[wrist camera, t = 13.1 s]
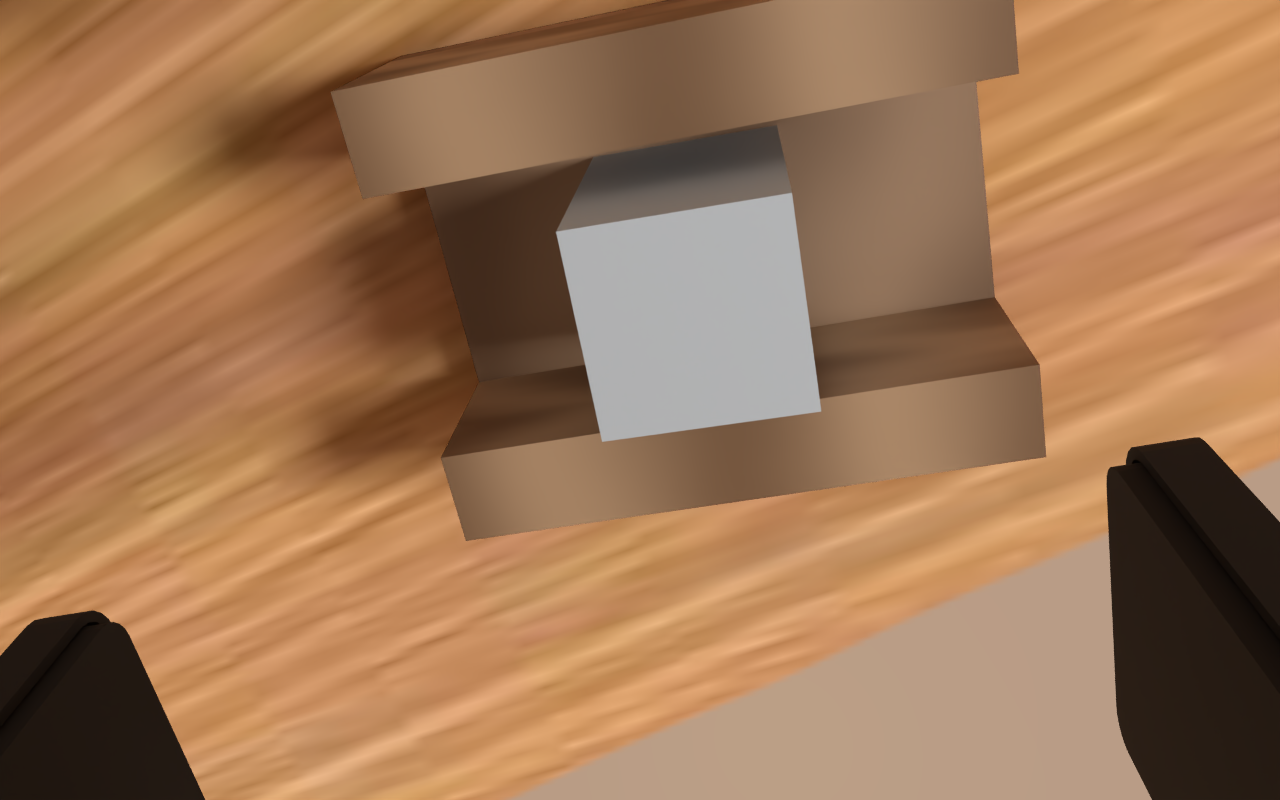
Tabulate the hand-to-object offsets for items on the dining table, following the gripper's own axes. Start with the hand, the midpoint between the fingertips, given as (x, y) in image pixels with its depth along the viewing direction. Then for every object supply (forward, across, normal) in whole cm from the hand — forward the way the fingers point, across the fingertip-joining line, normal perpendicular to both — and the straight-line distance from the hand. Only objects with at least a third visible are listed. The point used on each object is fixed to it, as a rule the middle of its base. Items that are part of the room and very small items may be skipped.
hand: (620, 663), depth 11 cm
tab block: (+16, -1, 0) cm, 16 cm away
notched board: (+17, -1, 0) cm, 17 cm away
